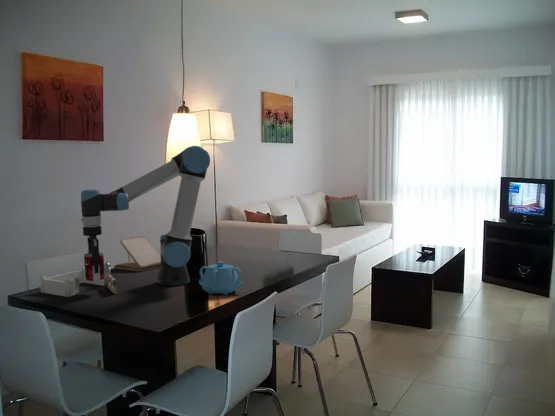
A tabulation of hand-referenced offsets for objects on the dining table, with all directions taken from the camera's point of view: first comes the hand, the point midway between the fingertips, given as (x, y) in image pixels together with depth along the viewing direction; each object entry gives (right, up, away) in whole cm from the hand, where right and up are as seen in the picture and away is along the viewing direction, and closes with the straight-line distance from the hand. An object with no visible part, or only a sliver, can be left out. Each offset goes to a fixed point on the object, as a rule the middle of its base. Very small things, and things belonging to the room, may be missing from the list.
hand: (95, 278), depth 238 cm
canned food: (0, -1, 0) cm, 0 cm away
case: (+4, -2, +60) cm, 60 cm away
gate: (+5, -6, +6) cm, 10 cm away
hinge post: (+1, -5, +16) cm, 16 cm away
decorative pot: (+53, -7, +4) cm, 54 cm away
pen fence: (-12, -6, +10) cm, 16 cm away
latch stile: (-9, -7, +2) cm, 11 cm away
